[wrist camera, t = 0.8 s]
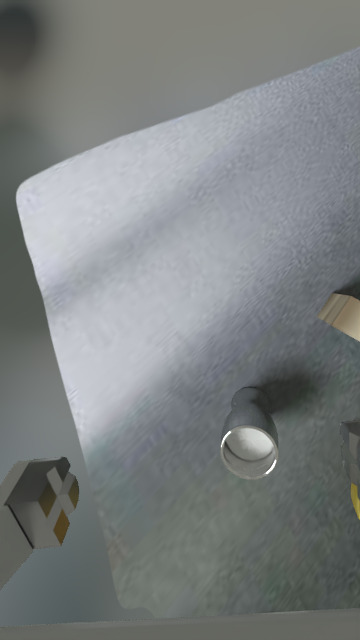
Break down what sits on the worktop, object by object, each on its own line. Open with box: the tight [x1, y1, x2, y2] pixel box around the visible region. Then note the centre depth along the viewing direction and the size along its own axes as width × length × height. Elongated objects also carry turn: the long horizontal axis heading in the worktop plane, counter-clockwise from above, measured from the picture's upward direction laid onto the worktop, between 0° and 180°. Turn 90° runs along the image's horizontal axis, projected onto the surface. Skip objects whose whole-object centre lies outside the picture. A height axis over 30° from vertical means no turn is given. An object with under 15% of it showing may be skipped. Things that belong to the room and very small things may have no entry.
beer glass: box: [220, 387, 278, 480], centre depth 46 cm, size 7×7×15 cm
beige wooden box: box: [317, 293, 360, 341], centre depth 44 cm, size 4×4×10 cm
